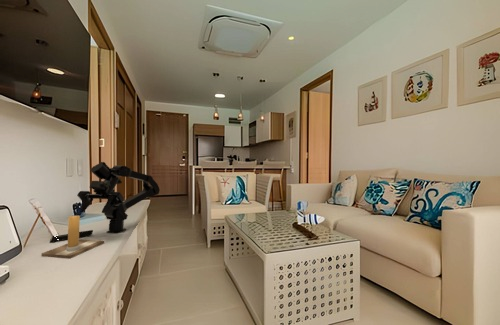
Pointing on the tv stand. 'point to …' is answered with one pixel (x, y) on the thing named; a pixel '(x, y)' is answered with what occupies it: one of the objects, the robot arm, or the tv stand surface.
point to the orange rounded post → (73, 233)
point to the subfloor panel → (62, 252)
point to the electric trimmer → (65, 236)
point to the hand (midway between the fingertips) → (91, 212)
